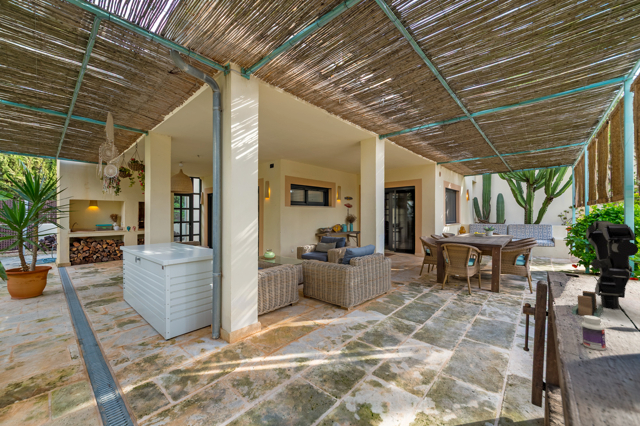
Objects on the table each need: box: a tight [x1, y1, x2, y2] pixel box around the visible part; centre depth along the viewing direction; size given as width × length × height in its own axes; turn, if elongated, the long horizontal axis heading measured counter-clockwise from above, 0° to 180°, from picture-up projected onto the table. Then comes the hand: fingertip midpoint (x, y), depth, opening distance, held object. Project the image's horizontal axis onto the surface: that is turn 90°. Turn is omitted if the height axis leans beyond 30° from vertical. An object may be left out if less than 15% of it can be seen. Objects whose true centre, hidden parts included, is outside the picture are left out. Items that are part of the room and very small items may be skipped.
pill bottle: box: [580, 315, 607, 351], centre depth 88 cm, size 5×5×10 cm
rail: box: [571, 303, 604, 318], centre depth 118 cm, size 16×8×3 cm, turn 128°
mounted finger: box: [582, 290, 598, 311], centre depth 121 cm, size 3×4×8 cm
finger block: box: [577, 294, 593, 317], centre depth 114 cm, size 3×4×8 cm
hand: (621, 290), depth 111 cm, fingers open, 9 cm apart
